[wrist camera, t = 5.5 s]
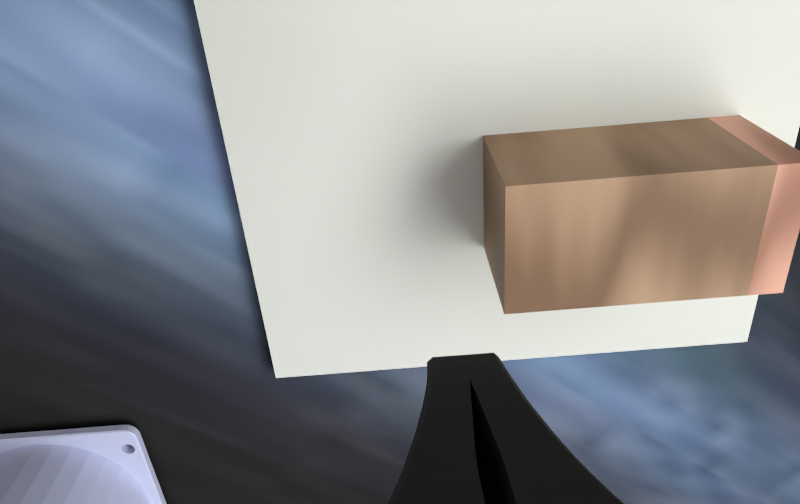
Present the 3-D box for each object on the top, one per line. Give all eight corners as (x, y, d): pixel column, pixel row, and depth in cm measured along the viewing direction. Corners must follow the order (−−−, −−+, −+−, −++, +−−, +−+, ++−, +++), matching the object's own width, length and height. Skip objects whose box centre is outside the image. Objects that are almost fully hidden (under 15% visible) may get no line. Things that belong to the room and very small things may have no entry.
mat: (740, 333, 25) (746, 341, 24) (277, 369, 25) (275, 377, 24) (835, -71, 18) (847, -70, 17) (194, -18, 18) (190, -16, 17)
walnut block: (483, 247, 22) (717, 229, 22) (504, 314, 18) (782, 292, 18) (482, 135, 20) (739, 115, 20) (505, 186, 16) (817, 161, 16)
